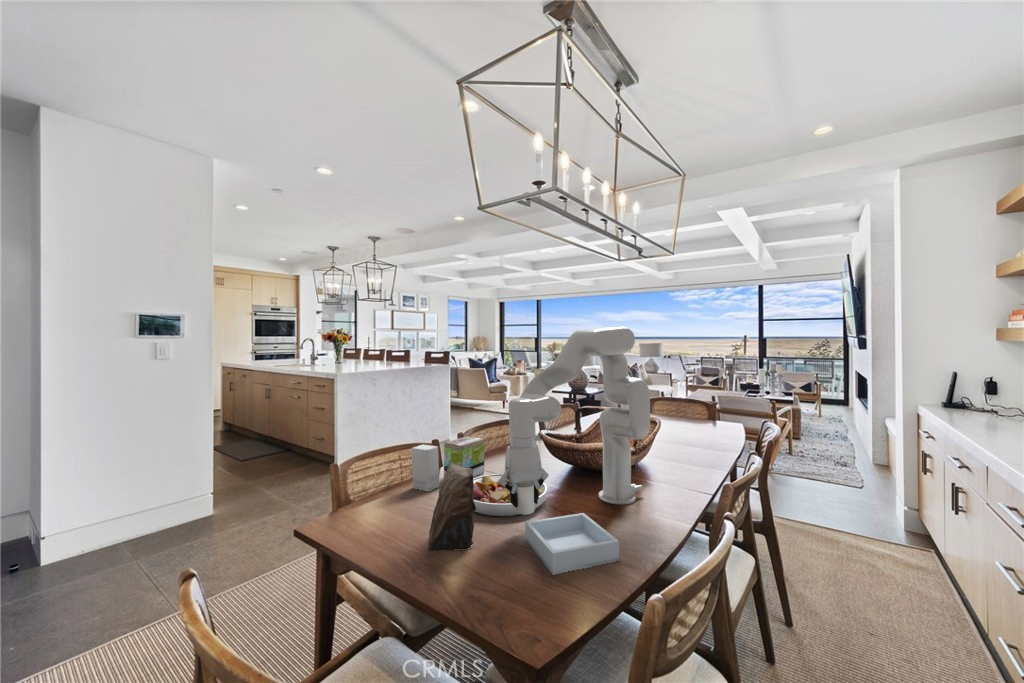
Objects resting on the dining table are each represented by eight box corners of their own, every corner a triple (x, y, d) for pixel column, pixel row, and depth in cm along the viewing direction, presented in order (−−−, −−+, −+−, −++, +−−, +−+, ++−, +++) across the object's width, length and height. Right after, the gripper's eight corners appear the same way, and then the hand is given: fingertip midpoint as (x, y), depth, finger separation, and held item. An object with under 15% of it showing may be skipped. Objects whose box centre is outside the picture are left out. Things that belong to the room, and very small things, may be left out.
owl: (444, 529, 120) (443, 460, 120) (485, 533, 117) (485, 463, 117) (425, 550, 107) (425, 474, 107) (471, 555, 105) (470, 477, 105)
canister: (530, 504, 122) (529, 474, 122) (538, 512, 116) (537, 481, 116) (512, 508, 120) (511, 477, 120) (518, 516, 114) (517, 484, 114)
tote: (583, 530, 118) (583, 512, 118) (619, 561, 101) (619, 541, 101) (525, 540, 113) (525, 521, 113) (552, 574, 96) (552, 553, 96)
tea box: (462, 483, 159) (462, 445, 159) (443, 479, 164) (443, 442, 164) (485, 473, 172) (485, 437, 172) (466, 469, 177) (466, 435, 177)
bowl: (514, 481, 162) (514, 461, 162) (565, 506, 137) (565, 482, 137) (445, 497, 145) (444, 475, 145) (488, 529, 120) (488, 502, 120)
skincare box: (439, 487, 155) (439, 446, 155) (427, 492, 149) (427, 450, 149) (423, 483, 159) (423, 443, 159) (411, 488, 153) (410, 447, 154)
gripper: (544, 435, 124) (546, 494, 124) (490, 441, 119) (492, 503, 119) (555, 441, 117) (557, 503, 117) (498, 448, 112) (500, 514, 112)
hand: (524, 503), depth 118 cm, fingers closed on canister, 5 cm apart
